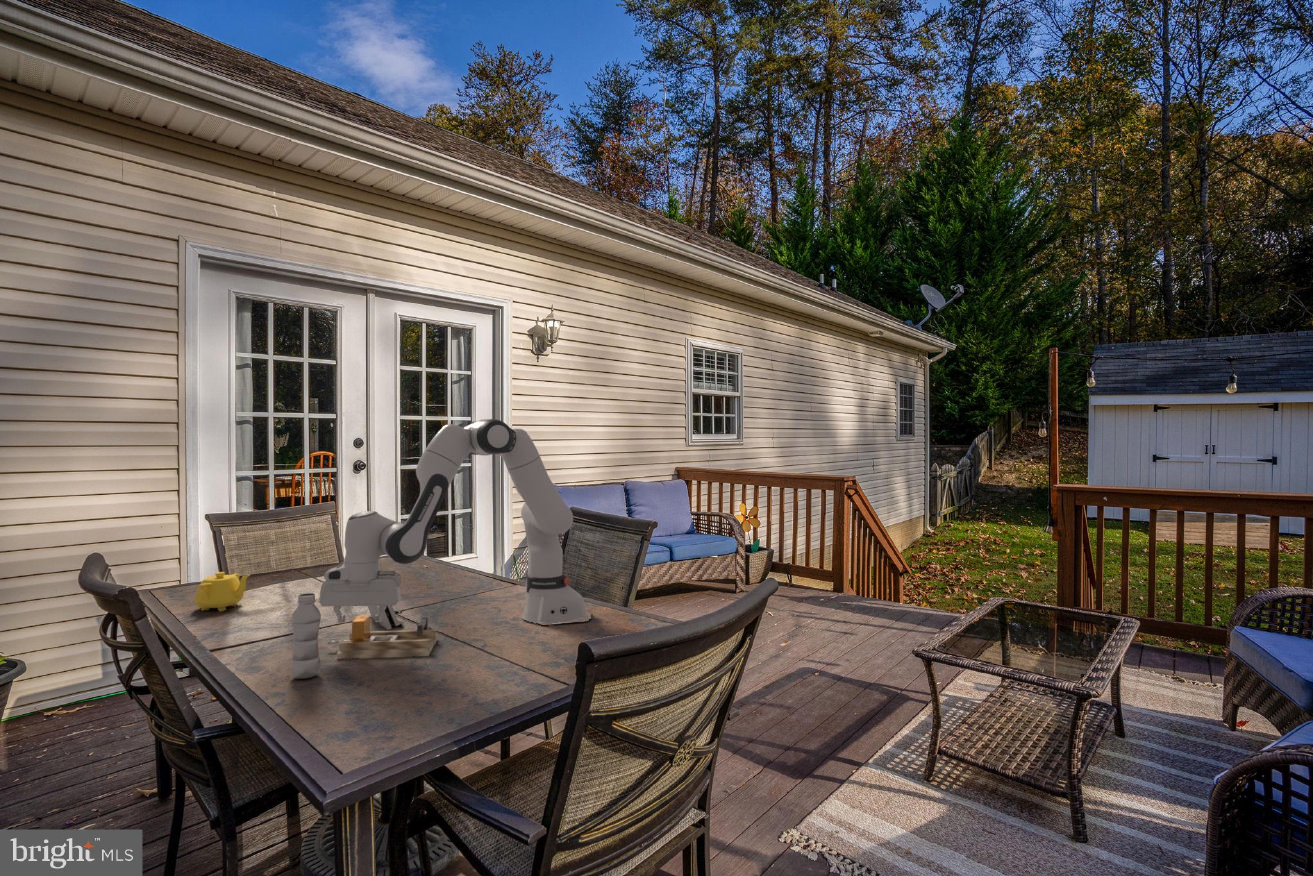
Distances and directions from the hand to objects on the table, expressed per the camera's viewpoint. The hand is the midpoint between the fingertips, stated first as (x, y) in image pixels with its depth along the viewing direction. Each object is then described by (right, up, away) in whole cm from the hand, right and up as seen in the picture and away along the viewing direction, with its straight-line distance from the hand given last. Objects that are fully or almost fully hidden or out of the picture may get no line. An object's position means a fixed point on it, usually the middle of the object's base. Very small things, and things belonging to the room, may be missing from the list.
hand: (359, 621), depth 175 cm
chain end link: (0, -6, 0) cm, 6 cm away
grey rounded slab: (-4, -8, +25) cm, 27 cm away
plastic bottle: (-4, -8, -20) cm, 22 cm away
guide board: (+8, -8, +1) cm, 11 cm away
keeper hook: (+15, -7, +6) cm, 17 cm away
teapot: (-63, -7, +38) cm, 74 cm away
